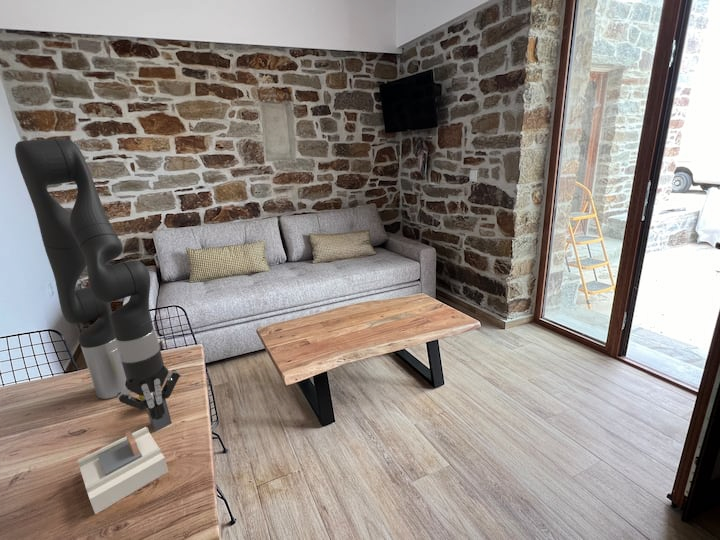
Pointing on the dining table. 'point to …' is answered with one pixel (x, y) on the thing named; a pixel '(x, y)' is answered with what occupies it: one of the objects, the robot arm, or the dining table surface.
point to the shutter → (120, 455)
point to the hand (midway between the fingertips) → (158, 417)
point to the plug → (162, 421)
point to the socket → (122, 471)
